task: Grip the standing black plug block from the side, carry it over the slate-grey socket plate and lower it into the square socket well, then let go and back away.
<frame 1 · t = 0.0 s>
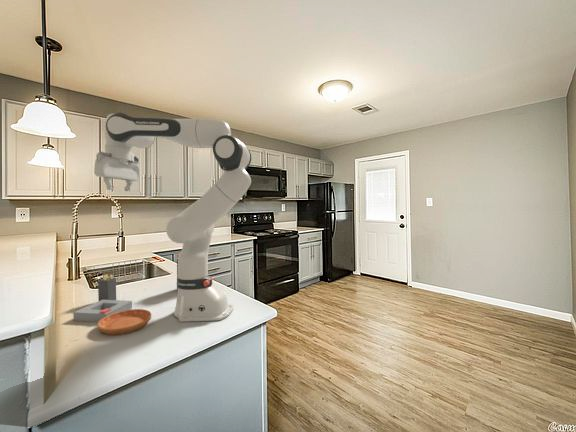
hand: (119, 190, 104), 48 cm above the worktop, tool pointing down, fingers open, 8 cm apart
saucer: (125, 326, 90), on the worktop
socket: (104, 313, 100), on the worktop
coffee jar: (188, 289, 130), on the worktop
plug: (107, 301, 112), on the worktop
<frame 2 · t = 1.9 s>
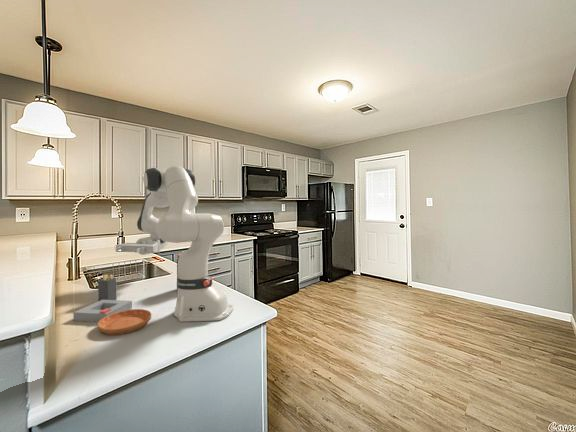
hand: (126, 250, 124), 20 cm above the worktop, tool horizontal, fingers open, 8 cm apart
nothing on the worktop moved.
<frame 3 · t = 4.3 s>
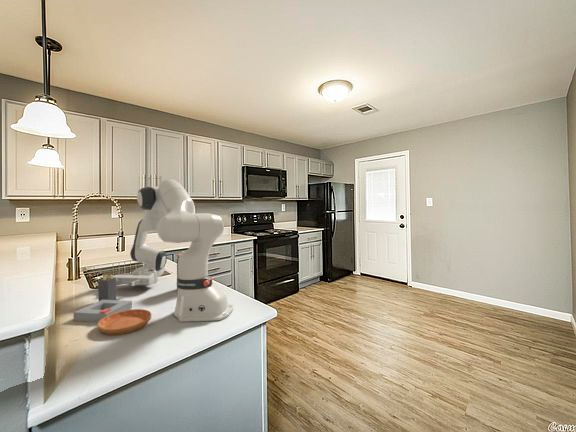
hand: (121, 284, 120), 5 cm above the worktop, tool horizontal, fingers open, 8 cm apart
nothing on the worktop moved.
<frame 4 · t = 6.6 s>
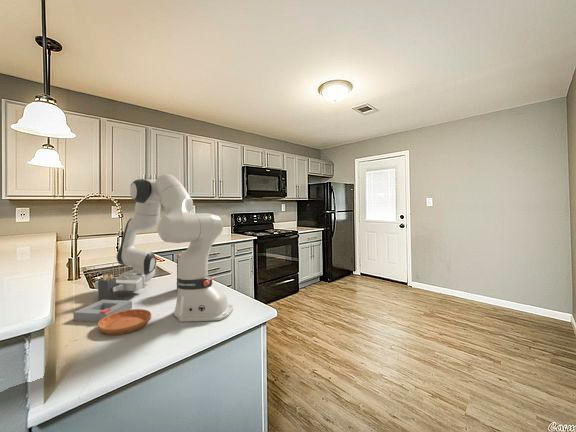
hand: (105, 289, 111), 6 cm above the worktop, tool horizontal, fingers closed on plug, 4 cm apart
plug: (107, 301, 112), on the worktop, touching gripper
everything else where it was.
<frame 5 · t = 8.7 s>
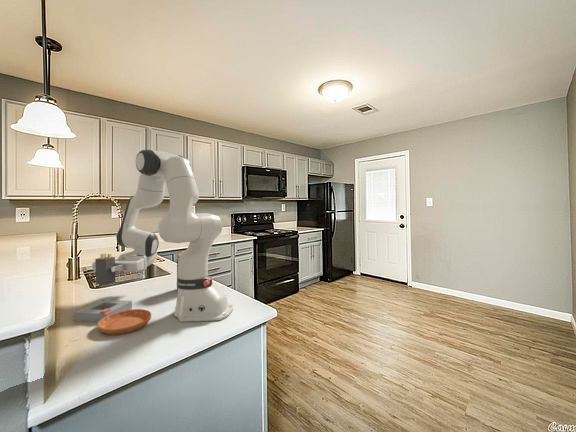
hand: (103, 269, 102), 16 cm above the worktop, tool horizontal, fingers closed on plug, 4 cm apart
plug: (105, 282, 103), point 11 cm above the worktop, touching gripper
everything else where it was.
when the fingers open (7 cm above the worktop, at t = 11.4 s): plug drops 1 cm, resting in socket.
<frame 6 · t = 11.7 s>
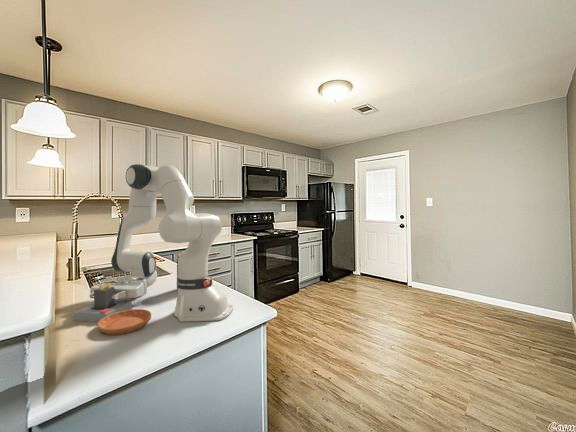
hand: (102, 296, 99), 7 cm above the worktop, tool horizontal, fingers open, 8 cm apart
plug: (104, 314, 100), resting in socket
everything else where it was.
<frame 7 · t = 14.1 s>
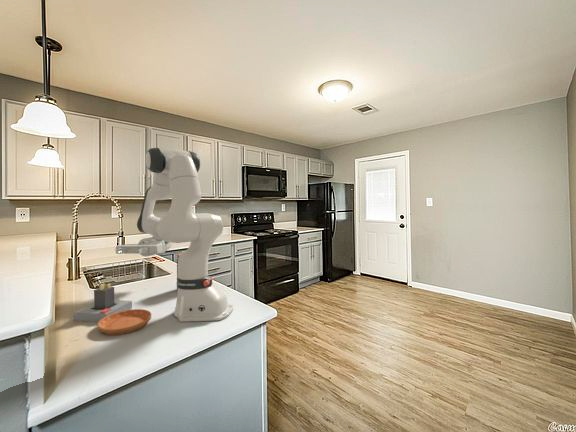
hand: (127, 251, 111), 22 cm above the worktop, tool horizontal, fingers open, 8 cm apart
nothing on the worktop moved.
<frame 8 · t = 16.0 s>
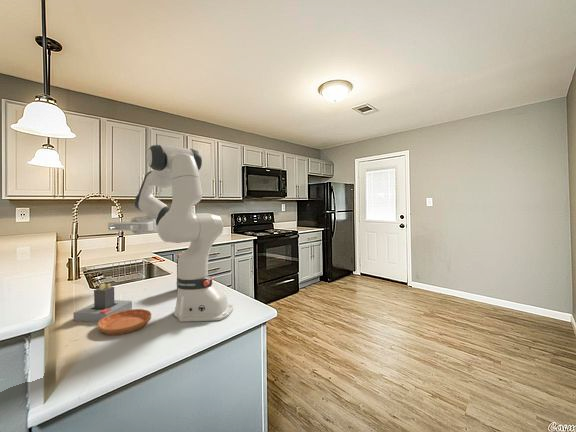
hand: (119, 227, 116), 32 cm above the worktop, tool horizontal, fingers open, 8 cm apart
nothing on the worktop moved.
at the end: plug 0.1 cm off-centre on the socket, point 0.0 cm above the socket's base; plug tilted 0°; the gripper is holding nothing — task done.
